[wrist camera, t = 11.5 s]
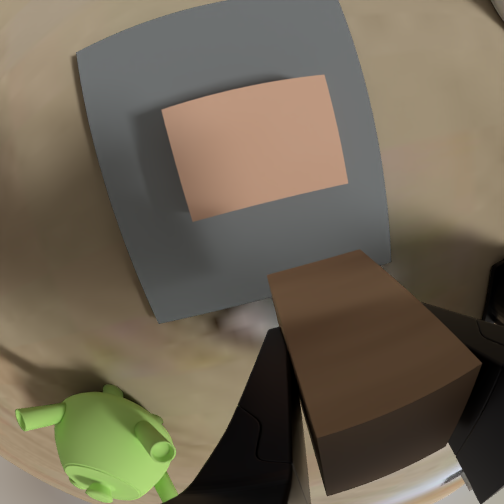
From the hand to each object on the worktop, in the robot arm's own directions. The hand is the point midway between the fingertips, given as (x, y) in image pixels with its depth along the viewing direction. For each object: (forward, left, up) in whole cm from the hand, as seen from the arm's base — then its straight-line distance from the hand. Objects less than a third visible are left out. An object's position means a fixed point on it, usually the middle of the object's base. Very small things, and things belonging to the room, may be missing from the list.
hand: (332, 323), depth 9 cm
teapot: (-10, +15, -8) cm, 20 cm away
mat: (+6, +1, -7) cm, 9 cm away
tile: (+6, -3, -6) cm, 9 cm away
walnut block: (0, 0, -1) cm, 1 cm away
